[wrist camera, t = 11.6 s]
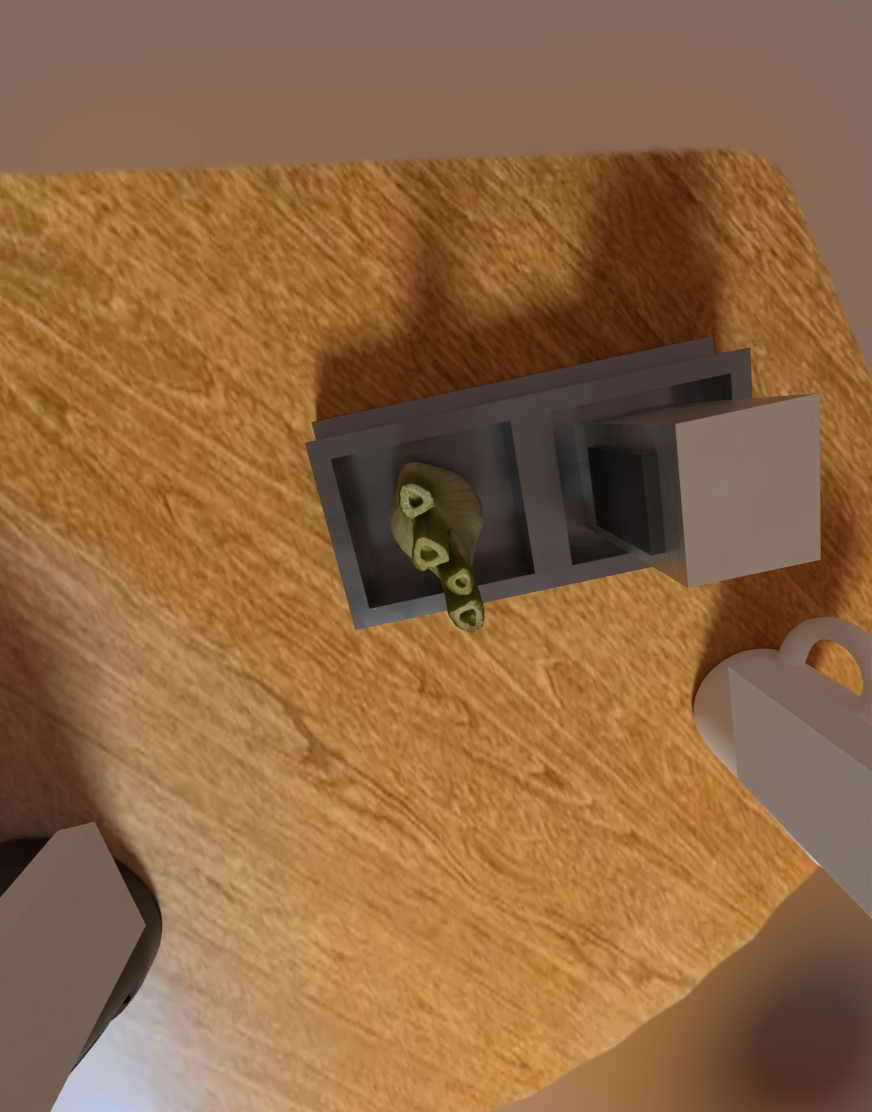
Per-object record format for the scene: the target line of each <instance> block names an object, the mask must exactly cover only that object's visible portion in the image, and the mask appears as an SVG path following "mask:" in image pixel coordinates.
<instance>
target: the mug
mask: <svg viewBox="0 0 872 1112" xmlns="http://www.w3.org/2000/svg"><path fill="white" fill-rule="evenodd" d="M823 639H824V640H831V641H834V642H836V643H838V644H839V645H841V646H843V647H844V648H845V649H847V650H848V652H849V653H850V654H851V655H852V656H853V657H854V659H855V660H856V662H857V664H858V666H859V668H860V671H861V674H862V680H863V690H862V695H861V696H859V695H857V694H856V693H854V692H853V691H851V690H849V689H848V688H846V687H844V686H843V685H841V684H839V683H838V682H836V681H834V680H832V679H831V678H829V677H827V676H826V675H824V674H822V673H821V672H819V671H818V670H816V669H814V668H813V667H811V666H809V665H808V664H806V663H805V662H806V659H807V656H808V653H809V651H810V649H811V648H812V646H813V645H814V644H815V643H816V642H817V641H819V640H823ZM761 658H766V659H767V660H769V661H771V662H772V663H774V664H775V665H777V666H779V667H780V668H782V669H783V670H785V671H786V672H788V673H790V674H791V675H793V676H794V677H796V678H798V679H799V680H801V681H802V682H804V683H805V684H807V685H809V686H810V687H812V688H813V689H815V690H817V691H818V692H820V693H821V694H823V695H824V696H826V697H828V698H829V699H831V700H832V701H834V702H836V703H837V704H839V705H840V706H842V707H843V708H845V709H847V710H848V711H850V712H851V713H853V714H855V715H856V716H858V717H859V718H861V719H862V720H864V721H866V722H867V723H869V724H870V725H872V636H871V635H870V634H869V633H867V632H866V631H864V630H863V629H862V628H860V627H858V626H856V625H854V624H852V623H850V622H847V621H844V620H841V619H837V618H831V617H818V618H813V619H808V620H806V621H804V622H801V623H800V624H799V625H797V626H796V627H794V628H793V629H792V630H791V631H790V632H789V633H788V635H787V636H786V638H785V639H784V641H783V643H782V645H781V647H780V649H779V651H778V650H773V649H752V650H747V651H743V652H740V653H737V654H735V655H732V656H730V657H728V658H727V659H725V660H723V661H722V662H721V663H719V664H718V665H717V666H715V667H714V668H713V669H712V670H711V671H710V672H709V673H708V675H707V676H706V677H705V678H704V680H703V681H702V683H701V685H700V687H699V689H698V691H697V694H696V697H695V701H694V709H693V710H694V720H695V725H696V727H697V730H698V732H699V734H700V735H701V737H702V739H703V740H704V742H705V743H706V744H707V745H708V747H709V748H710V749H711V750H712V751H713V752H714V754H715V755H716V756H717V757H718V758H719V759H720V760H721V761H722V762H723V763H724V764H725V766H726V767H727V768H728V769H729V770H730V771H731V772H732V773H733V774H734V775H735V776H736V777H737V779H738V776H737V765H736V753H735V742H734V731H733V719H732V708H731V697H730V685H729V674H728V666H732V665H736V664H740V663H744V662H748V661H753V660H757V659H761ZM749 792H750V791H749ZM750 793H751V792H750ZM751 794H752V793H751ZM760 804H761V803H760ZM761 805H762V804H761ZM762 806H763V805H762ZM763 807H764V806H763ZM764 808H765V807H764ZM765 809H766V808H765ZM766 810H767V809H766ZM767 811H768V810H767ZM768 812H769V811H768ZM769 813H770V812H769ZM770 814H771V813H770ZM771 815H772V814H771ZM772 817H773V818H774V819H775V820H776V818H775V817H774V816H773V815H772ZM776 821H777V820H776ZM777 822H778V821H777ZM778 823H779V822H778ZM779 824H780V823H779ZM780 825H781V824H780ZM781 826H782V825H781ZM782 827H783V826H782ZM783 828H784V827H783ZM784 830H785V831H786V832H787V833H788V834H789V835H790V836H791V837H792V838H793V839H794V840H795V842H796V843H797V844H798V845H799V846H800V847H801V848H802V849H803V850H804V851H805V852H806V853H807V855H808V856H809V857H810V858H811V859H812V860H813V861H814V862H815V863H817V864H818V865H819V866H821V865H820V864H819V863H818V862H817V861H816V860H815V859H814V858H813V857H812V856H811V855H810V854H809V853H808V852H807V851H806V850H805V849H804V848H803V847H802V846H801V845H800V844H799V842H798V841H797V840H796V839H795V838H794V837H793V836H792V835H791V834H790V833H789V832H788V831H787V830H786V829H785V828H784ZM821 867H822V866H821ZM822 868H823V867H822Z"/></svg>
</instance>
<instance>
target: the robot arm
mask: <svg viewBox="0 0 872 1112" xmlns="http://www.w3.org/2000/svg"><path fill="white" fill-rule="evenodd" d="M728 674H729V685H730V697H731V708H732V719H733V731H734V742H735V753H736V765H737V776H738V780H739V781H740V782H741V783H742V784H743V785H744V786H745V787H746V788H747V789H748V790H749V791H750V792H751V793H752V795H753V796H754V797H755V798H756V799H757V800H758V801H759V802H760V803H761V804H762V805H763V806H764V807H765V808H766V809H767V810H768V811H769V812H770V813H771V814H772V815H773V816H774V817H775V818H776V820H777V821H778V822H779V823H780V824H781V825H782V826H783V827H784V828H785V829H786V830H787V831H788V832H789V833H790V834H791V835H792V836H793V837H794V838H795V839H796V840H797V841H798V842H799V844H800V845H801V846H802V847H803V848H804V849H805V850H806V851H807V852H808V853H809V854H810V855H811V856H812V857H813V858H814V859H815V860H816V861H817V862H818V863H819V864H820V865H821V866H822V867H823V869H824V870H825V871H826V872H827V873H828V874H829V875H830V876H831V877H832V878H833V879H834V880H835V881H836V882H837V883H838V884H839V885H840V886H841V887H842V888H843V889H844V890H845V891H846V892H847V893H848V895H850V897H851V898H852V899H853V900H854V901H855V902H856V903H857V904H858V905H859V906H860V907H861V908H862V909H863V910H864V911H865V912H866V913H867V914H868V915H869V916H870V917H871V919H872V725H870V724H869V723H867V722H866V721H864V720H862V719H861V718H859V717H858V716H856V715H855V714H853V713H851V712H850V711H848V710H847V709H845V708H843V707H842V706H840V705H839V704H837V703H836V702H834V701H832V700H831V699H829V698H828V697H826V696H824V695H823V694H821V693H820V692H818V691H817V690H815V689H813V688H812V687H810V686H809V685H807V684H805V683H804V682H802V681H801V680H799V679H798V678H796V677H794V676H793V675H791V674H790V673H788V672H786V671H785V670H783V669H782V668H780V667H779V666H777V665H775V664H774V663H772V662H771V661H769V660H767V659H766V658H761V659H757V660H753V661H748V662H744V663H740V664H736V665H732V666H728ZM160 941H161V921H160V916H159V913H158V909H157V907H156V904H155V902H154V900H153V898H152V897H151V895H150V893H149V892H148V890H147V889H146V888H145V886H144V885H143V884H142V883H141V882H140V880H139V879H138V878H137V877H136V876H135V875H134V874H132V873H131V872H130V871H129V870H128V869H127V868H125V867H124V866H123V865H121V864H120V863H118V862H117V861H115V860H113V858H112V856H111V854H110V852H109V850H108V848H107V846H106V844H105V842H104V840H103V838H102V836H101V834H100V832H99V829H98V827H97V825H96V823H95V822H92V823H88V824H83V825H79V826H75V827H71V828H67V829H63V830H59V831H57V832H56V833H55V834H54V835H53V837H52V838H51V839H21V840H14V841H8V842H4V843H0V1112H50V1111H51V1109H52V1107H53V1105H54V1103H55V1101H56V1100H57V1098H58V1096H59V1094H60V1092H61V1090H62V1088H63V1086H64V1084H65V1082H66V1080H67V1078H68V1076H69V1074H70V1073H71V1072H72V1071H73V1070H74V1069H75V1067H76V1066H77V1065H78V1064H79V1063H80V1061H81V1060H82V1059H83V1058H84V1057H85V1055H86V1054H87V1053H88V1052H89V1050H90V1049H91V1048H92V1047H93V1045H94V1044H95V1043H96V1041H97V1040H98V1039H99V1038H100V1036H101V1035H102V1033H103V1032H104V1031H105V1029H106V1028H107V1026H108V1025H109V1023H110V1022H111V1021H112V1020H113V1019H114V1018H116V1017H117V1016H118V1015H119V1014H120V1013H121V1012H122V1011H123V1010H124V1009H125V1008H126V1007H127V1005H128V1004H129V1003H130V1002H131V1001H132V999H133V998H134V997H135V995H136V994H137V992H138V991H139V989H140V987H141V985H142V984H143V982H144V980H145V978H146V975H147V973H148V971H149V969H150V967H151V965H152V963H153V961H154V959H155V957H156V954H157V952H158V949H159V946H160Z"/></svg>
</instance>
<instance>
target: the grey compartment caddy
mask: <svg viewBox="0 0 872 1112" xmlns="http://www.w3.org/2000/svg"><path fill="white" fill-rule="evenodd" d="M311 423H312V426H313V430H314V434H315V438H316V441H312V442H307V443H305V444H306V448H307V452H308V455H309V459H310V463H311V467H312V470H313V474H314V478H315V481H316V485H317V489H318V493H319V496H320V500H321V504H322V507H323V511H324V515H325V518H326V522H327V526H328V530H329V533H330V537H331V541H332V544H333V548H334V552H335V556H336V559H337V563H338V567H339V570H340V574H341V578H342V582H343V585H344V589H345V593H346V596H347V600H348V604H349V608H350V611H351V615H352V619H353V622H354V626H355V630H357V629H362V628H367V627H371V626H376V625H381V624H385V623H390V622H395V621H399V620H404V619H409V618H414V617H418V616H423V615H428V614H432V613H437V612H442V611H446V610H447V605H446V599H445V595H444V591H443V587H442V583H441V580H440V578H439V577H438V576H437V575H436V574H435V573H434V572H432V571H431V570H430V569H429V568H428V569H426V570H425V571H421V570H419V569H417V568H416V567H415V565H414V564H413V562H412V558H410V557H409V556H408V555H407V554H406V553H405V552H404V551H403V550H402V549H401V547H400V546H399V544H398V542H397V541H396V539H395V537H394V535H393V532H392V530H391V522H390V509H391V506H392V503H393V499H394V497H395V493H396V489H397V485H398V480H399V475H400V472H401V471H402V468H403V466H404V465H405V464H406V463H411V462H421V463H424V464H430V465H434V466H439V467H442V468H444V469H447V470H450V471H453V472H455V473H457V474H459V475H460V476H462V477H463V478H464V479H465V480H466V481H467V482H469V483H470V484H471V485H472V487H473V488H474V490H475V491H476V493H477V494H478V496H479V498H480V500H481V503H482V510H483V523H482V529H481V531H480V534H479V536H478V538H477V541H476V544H475V549H474V555H473V564H472V570H473V573H474V577H475V580H476V583H477V586H478V589H479V592H480V594H481V598H482V601H483V603H484V602H489V601H493V600H498V599H503V598H507V597H512V596H517V595H522V594H526V593H531V592H536V591H540V590H545V589H550V588H554V587H559V586H564V585H569V584H573V583H578V582H583V581H587V580H592V579H597V578H601V577H606V576H611V575H616V574H620V573H625V572H630V571H634V570H639V569H644V568H648V567H654V568H656V569H657V570H659V571H661V572H662V573H664V574H666V575H667V576H669V577H671V578H672V579H674V580H676V581H678V582H679V583H681V584H683V585H684V586H686V587H688V588H690V587H695V586H699V585H704V584H709V583H714V582H718V581H723V580H728V579H732V578H737V577H742V576H746V575H751V574H756V573H761V572H765V571H770V570H775V569H779V568H784V567H789V566H793V565H798V564H803V563H808V562H812V561H817V560H821V543H820V393H817V394H803V395H790V396H776V397H763V398H752V379H751V353H750V347H749V348H744V349H740V350H735V351H730V352H726V353H721V354H717V355H714V346H713V336H710V337H705V338H700V339H696V340H691V341H686V342H682V343H677V344H673V345H668V346H663V347H659V348H654V349H649V350H645V351H640V352H635V353H631V354H626V355H621V356H617V357H612V358H607V359H603V360H598V361H593V362H589V363H584V364H580V365H575V366H570V367H566V368H561V369H556V370H552V371H547V372H542V373H538V374H533V375H528V376H524V377H519V378H514V379H510V380H505V381H501V382H496V383H491V384H487V385H482V386H477V387H473V388H468V389H463V390H459V391H454V392H449V393H445V394H440V395H435V396H431V397H426V398H422V399H417V400H412V401H408V402H403V403H398V404H394V405H389V406H384V407H380V408H375V409H370V410H366V411H361V412H356V413H352V414H347V415H343V416H338V417H333V418H329V419H324V420H319V421H315V422H311Z"/></svg>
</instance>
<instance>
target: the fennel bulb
mask: <svg viewBox="0 0 872 1112" xmlns="http://www.w3.org/2000/svg"><path fill="white" fill-rule="evenodd" d="M390 522H391V530H392V532H393V535H394V537H395V539H396V541H397V542H398V544H399V546H400V547H401V549H402V550H403V551H404V552H405V553H406V554H407V555H408V556H409V557H410V558H412V562H413V564H414V565H415V567H416V568H417V569H419V570H421V571H425V570H426V569H428V568H429V569H430V570H431V571H432V572H434V573H435V574H436V575H437V576H438V577H439V578H440V580H441V583H442V587H443V591H444V595H445V599H446V605H447V610H448V615H449V617H450V618H451V620H452V621H453V622H454V624H455V625H456V627H458V628H460V629H461V630H466V631H468V632H475V630H477V629H479V628H480V627H481V626H483V623H484V607H483V601H482V598H481V594H480V592H479V589H478V586H477V583H476V580H475V577H474V573H473V570H472V564H473V555H474V549H475V544H476V541H477V538H478V536H479V534H480V531H481V529H482V523H483V510H482V503H481V500H480V498H479V496H478V494H477V493H476V491H475V490H474V488H473V487H472V485H471V484H470V483H469V482H467V481H466V480H465V479H464V478H463V477H462V476H460V475H459V474H457V473H455V472H453V471H450V470H447V469H444V468H442V467H439V466H434V465H430V464H424V463H421V462H411V463H406V464H405V465H404V466H403V468H402V471H401V472H400V475H399V480H398V485H397V489H396V493H395V497H394V499H393V503H392V506H391V509H390Z"/></svg>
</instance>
